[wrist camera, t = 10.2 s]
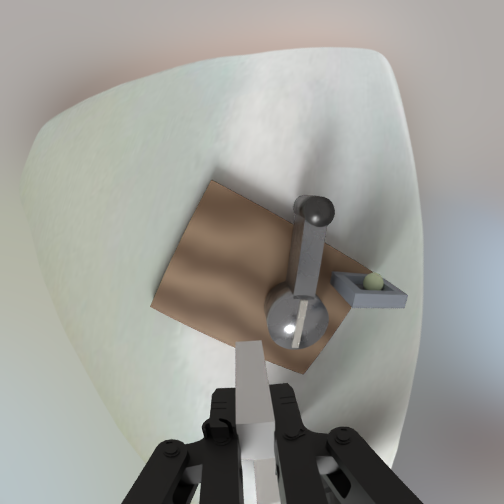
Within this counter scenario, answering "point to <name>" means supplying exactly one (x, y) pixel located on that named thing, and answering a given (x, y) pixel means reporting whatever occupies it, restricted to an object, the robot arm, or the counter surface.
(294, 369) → the stand board
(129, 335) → the counter surface
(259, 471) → the milk
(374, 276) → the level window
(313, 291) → the crank handle
